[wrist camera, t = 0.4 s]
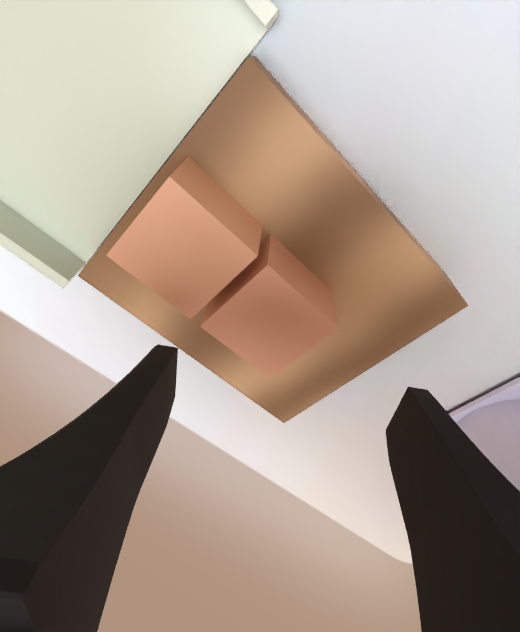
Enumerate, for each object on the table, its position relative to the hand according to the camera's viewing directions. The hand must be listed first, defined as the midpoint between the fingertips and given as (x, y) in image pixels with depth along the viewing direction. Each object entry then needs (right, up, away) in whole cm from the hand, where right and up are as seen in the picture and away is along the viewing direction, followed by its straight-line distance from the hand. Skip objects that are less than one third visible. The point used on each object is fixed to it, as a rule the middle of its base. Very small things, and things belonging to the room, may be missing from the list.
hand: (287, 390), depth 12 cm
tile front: (-4, +6, +5) cm, 9 cm away
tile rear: (0, +4, +6) cm, 7 cm away
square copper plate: (0, +5, +9) cm, 10 cm away
